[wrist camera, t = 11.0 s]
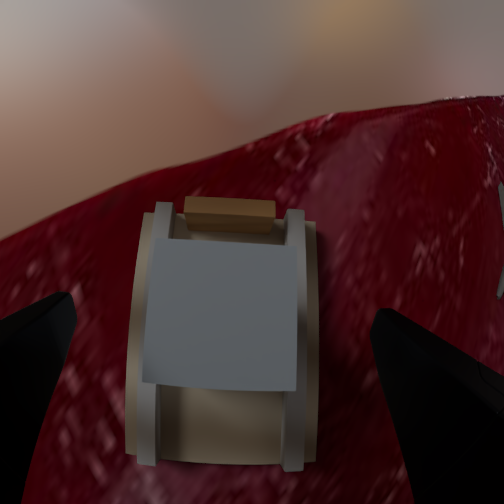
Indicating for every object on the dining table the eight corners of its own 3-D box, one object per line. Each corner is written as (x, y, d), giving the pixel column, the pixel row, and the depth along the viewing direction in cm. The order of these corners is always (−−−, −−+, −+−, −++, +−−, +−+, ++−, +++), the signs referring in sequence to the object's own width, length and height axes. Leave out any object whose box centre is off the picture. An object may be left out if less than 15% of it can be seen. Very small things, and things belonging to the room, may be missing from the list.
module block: (260, 377, 17) (295, 391, 8) (181, 373, 17) (141, 382, 8) (263, 296, 18) (296, 237, 10) (187, 291, 18) (156, 229, 10)
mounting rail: (311, 457, 16) (328, 474, 13) (130, 449, 16) (112, 464, 12) (311, 228, 21) (326, 203, 18) (147, 219, 21) (135, 193, 17)
